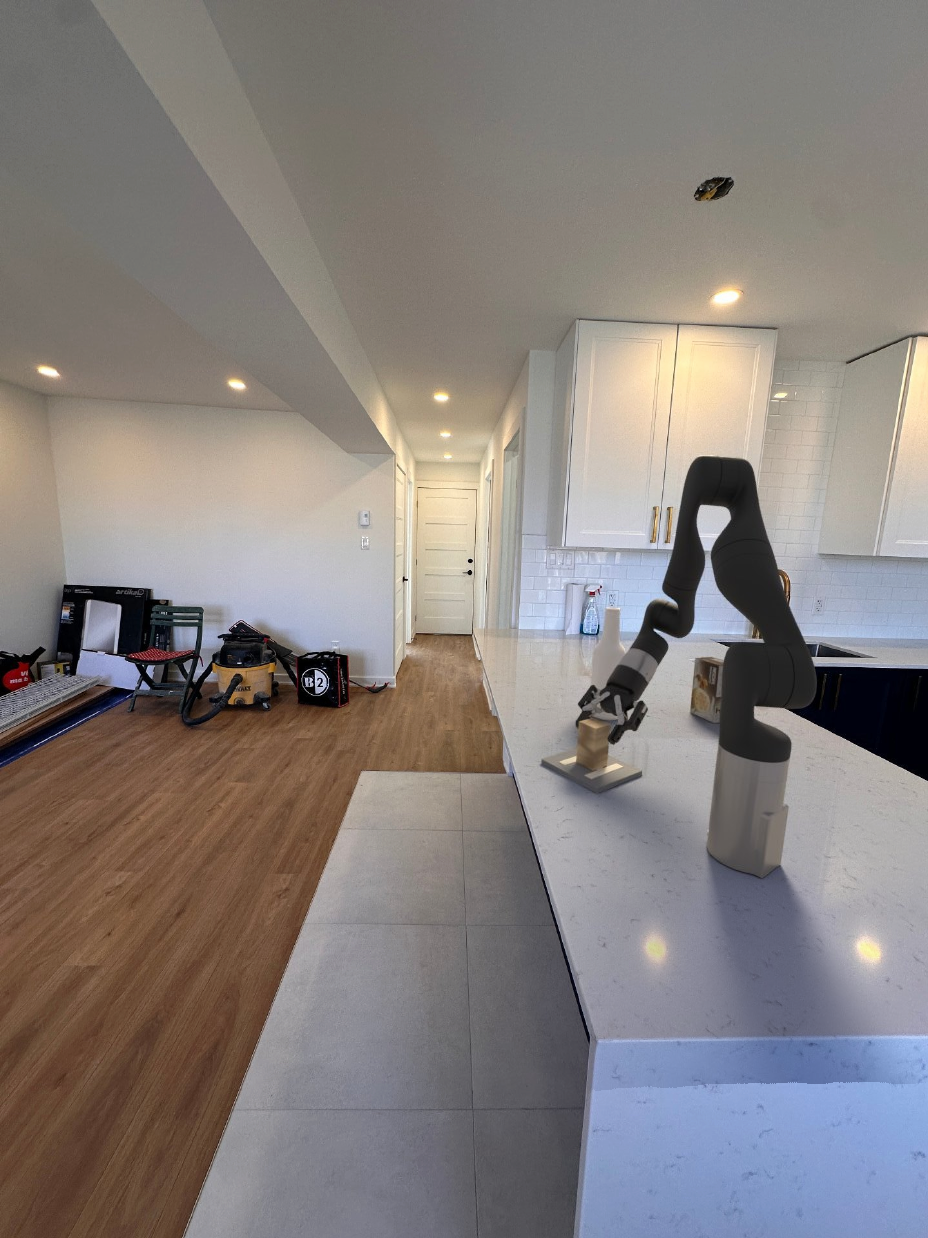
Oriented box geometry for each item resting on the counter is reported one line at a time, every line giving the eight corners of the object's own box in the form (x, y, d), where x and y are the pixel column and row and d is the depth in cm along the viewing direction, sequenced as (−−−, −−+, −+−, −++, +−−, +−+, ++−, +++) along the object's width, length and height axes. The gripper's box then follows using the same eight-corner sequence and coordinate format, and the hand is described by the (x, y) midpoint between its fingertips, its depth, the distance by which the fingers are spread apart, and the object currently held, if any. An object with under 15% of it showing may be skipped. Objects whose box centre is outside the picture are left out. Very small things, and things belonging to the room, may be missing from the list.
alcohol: (625, 714, 137) (634, 607, 132) (615, 723, 130) (624, 611, 125) (594, 707, 142) (602, 604, 137) (583, 716, 135) (591, 607, 130)
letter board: (641, 775, 101) (642, 770, 101) (596, 793, 93) (597, 788, 93) (585, 749, 113) (586, 744, 113) (541, 763, 105) (541, 758, 105)
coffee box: (732, 721, 134) (738, 664, 131) (713, 723, 132) (719, 665, 129) (706, 710, 143) (712, 656, 140) (688, 712, 141) (694, 657, 138)
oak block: (607, 765, 103) (610, 724, 101) (592, 770, 100) (596, 728, 99) (590, 757, 106) (593, 717, 105) (576, 762, 104) (578, 721, 102)
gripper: (599, 657, 111) (560, 715, 106) (655, 671, 99) (614, 737, 95) (612, 676, 115) (575, 733, 110) (668, 693, 103) (629, 757, 98)
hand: (593, 735), depth 102 cm, fingers open, 8 cm apart
